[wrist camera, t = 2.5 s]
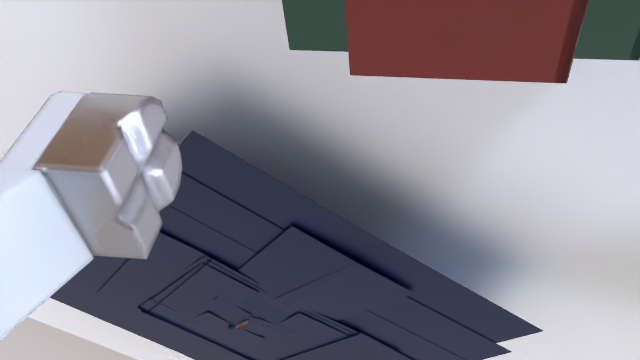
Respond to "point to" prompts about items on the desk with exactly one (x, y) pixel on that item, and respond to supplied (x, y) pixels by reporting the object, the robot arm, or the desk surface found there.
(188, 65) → the desk surface
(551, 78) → the pocket dictionary
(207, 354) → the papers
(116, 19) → the desk surface
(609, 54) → the hardcover book
